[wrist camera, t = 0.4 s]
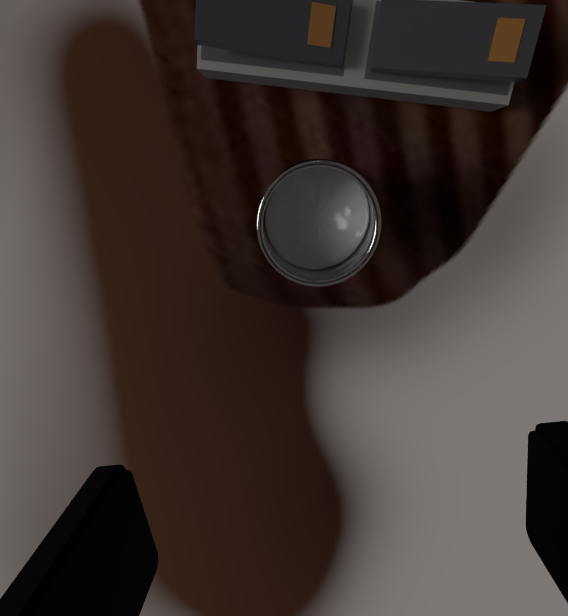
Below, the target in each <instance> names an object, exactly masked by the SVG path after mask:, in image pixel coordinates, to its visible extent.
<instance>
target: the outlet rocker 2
mask: <svg viewBox="0 0 568 616" xmlns="http://www.w3.org/2000/svg"><path fill="white" fill-rule="evenodd" d="M545 9H546V5H530V4H504V3H479V2H453V1H428V0H381V6H380V12H379V18H378V24H377V31H376V37H375V43H374V49H373V56H372V62H371V72H380V73H394V74H408V75H422V76H436V77H450V78H464V79H478V80H492V81H506V82H520V83H521V82H523V81H524V80H525V79H527V76H528V72H529V69H530V65H531V61H532V58H533V54H534V50H535V46H536V43H537V39H538V35H539V31H540V28H541V24H542V20H543V16H544V13H545Z"/></svg>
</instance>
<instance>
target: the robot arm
mask: <svg viewBox="0 0 568 616" xmlns="http://www.w3.org/2000/svg"><path fill="white" fill-rule="evenodd" d="M526 530H527V534H528V537H529V539H530V542H531V543H532V545H533V547H534V549H535V550H536V552H537V553H538V555H539V557H540V558H541V560H542V562H543V563H544V565H545V567H546V568H547V570H548V572H549V573H550V575H551V576H552V578H553V580H554V581H555V583H556V584H557V586H558V588H559V590H560V591H561V593H562V595H563V596H564V598H565V599H566V601H567V602H568V422H567V421H560V422H550V423H540V424H538V425H537V426H536V429H535V431H531V432H530V433H529V436H528V464H527V500H526ZM157 565H158V553H157V549H156V546H155V543H154V540H153V537H152V534H151V531H150V528H149V525H148V521H147V518H146V515H145V512H144V509H143V506H142V503H141V500H140V497H139V493H138V490H137V487H136V484H135V481H134V478H133V475H132V473H131V471H129V470H126V469H125V468H124V466H122V465H111V466H101V467H97V468H96V469H95V470H94V471H93V472H92V474H91V475H90V476H89V478H88V479H87V480H86V482H85V483H84V485H83V486H82V487H81V489H80V490H79V491H78V493H77V494H76V495H75V497H74V498H73V500H72V501H71V502H70V504H69V505H68V507H67V508H66V509H65V511H64V512H63V513H62V515H61V516H60V518H59V519H58V521H57V522H56V523H55V524H54V526H53V527H52V529H51V530H50V531H49V533H48V534H47V535H46V537H45V538H44V540H43V541H42V542H41V544H40V545H39V546H38V548H37V549H36V551H35V552H34V554H33V555H32V556H31V557H30V559H29V560H28V562H27V563H26V564H25V566H24V567H23V569H22V570H21V571H20V573H19V574H18V575H17V577H16V578H15V580H14V581H13V582H12V584H11V585H10V586H9V588H8V589H7V591H6V592H5V593H4V595H3V596H2V598H1V599H0V616H139V614H140V612H141V609H142V607H143V604H144V601H145V598H146V596H147V593H148V591H149V588H150V586H151V583H152V580H153V578H154V575H155V572H156V570H157Z"/></svg>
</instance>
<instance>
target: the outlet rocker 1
mask: <svg viewBox="0 0 568 616" xmlns="http://www.w3.org/2000/svg"><path fill="white" fill-rule="evenodd" d="M350 7H351V0H196V16H195V43H196V45H201V46H207V47H213V48H219V49H225V50H232V51H238V52H244V53H250V54H256V55H262V56H268V57H274V58H280V59H286V60H292V61H299V62H305V63H311V64H317V65H323V66H329V67H335V68H339V67H340V66H341V65H342V64H343V57H344V50H345V43H346V36H347V29H348V22H349V15H350Z"/></svg>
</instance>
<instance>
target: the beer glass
mask: <svg viewBox="0 0 568 616" xmlns="http://www.w3.org/2000/svg"><path fill="white" fill-rule="evenodd" d="M256 224H257V236H258V240H259V244H260V247H261V249H262V251H263V253H264V255H265V257H266V259H267V260H268V261H269V263H270V264H271V265H272V266H273V267H274V269H276V270H277V271H278V272H279V273H280V274H281V275H283V276H284V277H286V278H288V279H289V280H291V281H294V282H296V283H299V284H302V285H307V286H328V285H333V284H337V283H339V282H342V281H344V280H346V279H348V278H350V277H352V276H353V275H354V274H356V273H357V272H358V271H359V270H361V269H362V268H363V267H364V266H365V264H366V263H367V262H368V261H369V259H370V258H371V256H372V255H373V253H374V251H375V249H376V247H377V244H378V241H379V238H380V233H381V211H380V206H379V203H378V200H377V197H376V195H375V193H374V191H373V190H372V188H371V187H370V185H369V184H368V183H367V181H366V180H365V179H364V178H363V177H362V176H361V175H360V174H358V173H357V172H356V171H354V170H353V169H351V168H349V167H348V166H346V165H344V164H342V163H339V162H336V161H333V160H328V159H309V160H305V161H301V162H298V163H296V164H294V165H292V166H290V167H288V168H286V169H285V170H284V171H282V172H281V173H280V174H279V175H278V176H277V177H276V178H275V179H274V180H273V181H272V183H271V184H270V185H269V187H268V189H267V190H266V192H265V193H264V195H263V197H262V200H261V202H260V205H259V209H258V213H257V223H256Z"/></svg>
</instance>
